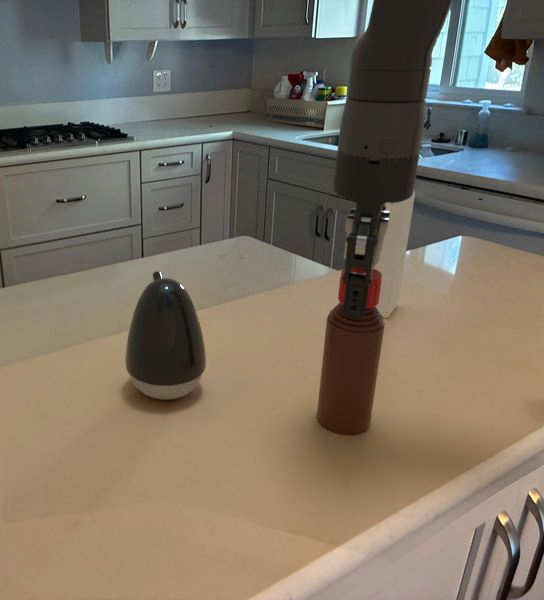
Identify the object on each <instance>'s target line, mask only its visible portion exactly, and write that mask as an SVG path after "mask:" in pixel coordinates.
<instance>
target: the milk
mask: <svg viewBox="0 0 544 600" xmlns="http://www.w3.org/2000/svg"><path fill="white" fill-rule="evenodd" d="M415 198H416V191H415V189H414V190H413V194H412V196H411V197H410V198H409V199H407V200H405V201H402V202H398V203H390V202H388V203H385V206H386V210H385V211H384V212H390V218H389V223H388V228H387V233H386V235H385V236H384V240H383V246H382V250H381V254H380V260H379V262H378V263H377V264H376V265H375V267H374V268H373V269H376V270H378V271H379V272H381V274H382V278H381V279H382V281H381V288H380V295H379V301H378V304H377V306H375V307H376V308H377V310H378V311H379V312H380V314H381V315H382V317H383V319H388V318H389V317H390V316H391V314H392V313H393V312H394V311H395V309H396V308H397V306H398V305H399V299H400V294H401V293H400V292H401V287H402V280H403V275H404V267H405V260H406V255H407V250H408V249H407V248H408V243H409V242H408V241H409V235H410V228H411V222H412V216H413V212H414V211H413V210H414V204H415Z"/></svg>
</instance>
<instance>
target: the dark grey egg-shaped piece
mask: <svg viewBox="0 0 544 600" xmlns="http://www.w3.org/2000/svg"><path fill="white" fill-rule="evenodd" d="M152 279H153V281H151V282H150V283H149V284H148V285H146V287H145V288H144V289H143V290H142V293H141V294H140V296H139V298H138V301H137V303H136V306H135V308H134V311H133V314H132V317H131V322H130V326H129V329H128V335H127V341H126V349H125V358H124V359H125V369H126V371H127V373H128V374H129V377H130V379H131V382H132V384H134V386H135V387H136V389H138V391H139V392H141V393H142V394H144V395H145V396H148V397H150V398H152V399H156V400H164V401H165V400H166V401H167V400H175V399H180V398H181V397H184V396H186V395H188V394H190V393H191V392H192V391H193V390H194V389H195V388H196V387H197V386H198V385H199V382H200V381H201V379H202V376H203V373H204V372H205V370H206V368H207V353H206V345H205V340H204V335H203V331H202V327H201V323H200V320H199V315H198V313H197V310H196V307H195V304H194V302H193V300H192V298H191V296H190V293H189V292H188V291H187V289H186V288H185V287H184V286H183V285H182V284H181V282H179V281H177V280H175V279H172V278H170V277H169V278H167V277H164V278H163V275H162V273H161V272H160V271H159V270H158V271H157V270H156V271H154V272H152Z"/></svg>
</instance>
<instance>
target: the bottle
mask: <svg viewBox="0 0 544 600" xmlns="http://www.w3.org/2000/svg"><path fill="white" fill-rule="evenodd" d="M385 325H386V323H385V318H384V317H382V315H381V314H380V312H379V311H378V310H377V308H376V307H373V308H369V309H366V310H365V315H364V317H363V318H361V319H358V318H352V317H346V316H344V315H343V304H341V303H340V302H339V303H337V305H335V306H334V307H333V308H332V309H330V311H329V313H328V315H327V317H326V323H325V333H324V341H323V342H324V343H323V351H322V362H321V373H320V380H319V381H320V382H319V391H318V400H317V410H316V419H317V422H318V424H320V426H322V427H323V428H324V429H326V430H328V431H330V432H332V433H335V434H339V435H345V436H355V435H359V434H362V433H364V432H366V431H368V429H370V426H371V419H372V413H373V407H374V401H375V393H376V386H377V379H378V372H379V367H380V360H381V353H382V346H383V339H384V332H385Z"/></svg>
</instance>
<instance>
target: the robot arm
mask: <svg viewBox="0 0 544 600" xmlns="http://www.w3.org/2000/svg"><path fill="white" fill-rule="evenodd" d="M452 4H453V0H373V1H372V7H371V11H370V16H369V19H368V24H367V27H366V29H365V31H364V32H363V33H361V35H360V36H358V38H357V39H356V41H355V42H354V44H353V49H352V51H351V52H352V53H351V56H350V64H349V74H348V82H347V91H346V98H345V104H344V107H343V108H344V109H343V112H342V115H341V120H340V125H339V126H340V127H339V135H338V143H337V153H336V159H335V168H334V179H333V186H332V189H333V191H334V193H335V194H336V195H337V196H338V197H340V198H342V199H344V200H352V201H353V202H355V204H356V207H355V208H350V209H349V213H348V214H347V215H346V219H345V226H344V231H345V233H346V237H345V244H344V250H343V259H344V261H345V264H344V268H345V273H344V275H343V280H344V283H343V284H346V289H345V297H344V305H343V315H344V316H346V317H352V318H358V319H361V318H363V317H364V315H365V310H366V303H367V297H368V290H369V287H370V284H372V280H373V279H371V277H372V270H373V268H374V267H375V265H376V264H377V263H378V262H379V260H380V254H381V250H382V246H383V240H384V236H385V235H386V233H387V228H388V223H389V218H390V212H384V211H385V210H386V206H385V203H388V202H390V203H398V202H402V201H405V200H407V199H409V198H410V197H411V196H412V194H413V190H414V191H415V183H416V178H417V171H418V165H419V159H420V154H421V147H422V142H423V135H424V130H425V129H424V128H425V121H426V120H425V119H426V114H425V113H426V112H425V111H426V102H427V101H426V99H427V96H428V91H429V89H428V88H429V83H430V78H431V73H432V71H431V70H432V65H433V57H434V55H433V54H434V50H435V48H436V44H437V42H438V39H439V37H440V35H441V32H442V30H443V29H444V26H445V23H446V21H447V18H448V15H449V12H450V9H451V6H452ZM352 268H357V269H364V270H365V271H366V274H360V273H353V272H352Z"/></svg>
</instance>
